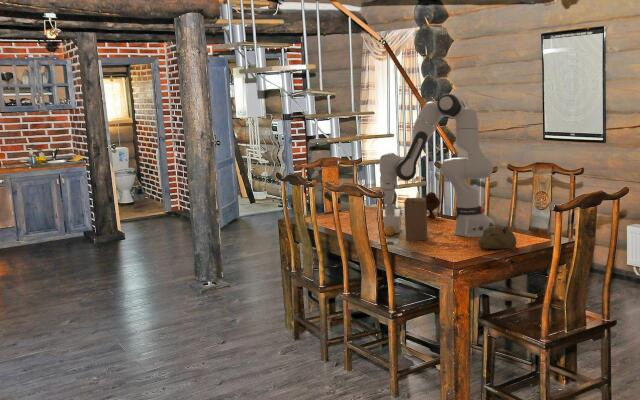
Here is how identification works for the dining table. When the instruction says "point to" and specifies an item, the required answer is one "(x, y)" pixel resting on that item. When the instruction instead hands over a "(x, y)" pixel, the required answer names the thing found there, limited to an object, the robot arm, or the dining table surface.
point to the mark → (393, 240)
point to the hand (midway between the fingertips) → (389, 210)
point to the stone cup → (392, 202)
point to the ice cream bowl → (431, 203)
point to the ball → (389, 231)
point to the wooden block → (415, 218)
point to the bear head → (497, 238)
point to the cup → (392, 218)
